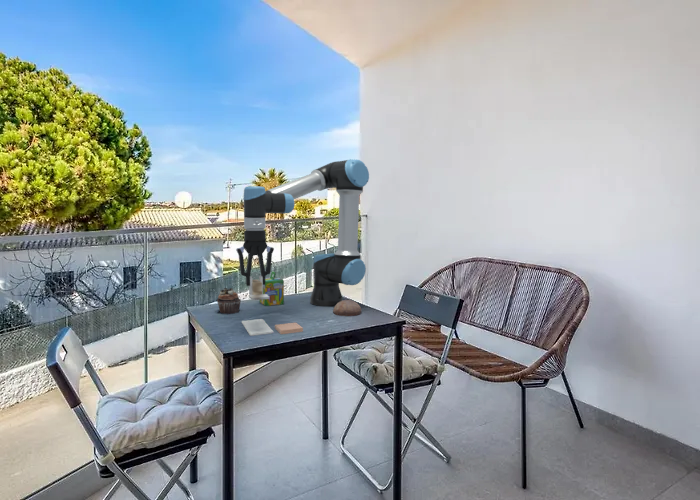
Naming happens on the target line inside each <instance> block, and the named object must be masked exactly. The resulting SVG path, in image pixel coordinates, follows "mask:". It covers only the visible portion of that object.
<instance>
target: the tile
mask: <svg viewBox="0 0 700 500" xmlns="http://www.w3.org/2000/svg"><path fill="white" fill-rule="evenodd" d="M274 329H275V331H276V332H278V333H279V334H280V335H288V334H296V333H301V332H304V327H302V326H301V325H300V324H298V323H297V322H289V323H281V324H274Z"/></svg>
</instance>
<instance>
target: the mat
mask: <svg viewBox="0 0 700 500" xmlns="http://www.w3.org/2000/svg"><path fill="white" fill-rule="evenodd" d="M241 324H242V325H243V327H244V328H245V330H246V331H247V333H248V335H249V336H251V337H253V336H261V335H271V334H274V330H273V329H272V328H271V327H270V325H269V324H267V323H266V321H265V319H263V318H260V319H258V318H257V319H249V320H241Z"/></svg>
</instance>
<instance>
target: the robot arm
mask: <svg viewBox="0 0 700 500" xmlns="http://www.w3.org/2000/svg"><path fill="white" fill-rule="evenodd" d="M369 179H370V173H369V169H368V166H367V165H366V164H365V163H364V161H362V160H360V159H351V158H349V159H346V160H338V161H332V162H330V163H327V164H325V165H323V166H320V167H318V168H316V169H313V170H311V172H310V173H309V174H305V175H304V176H301V177H299V178H297V179H294V180H291V181H289V182H284V184H280V185H278V186H276V187H275V186H274V187H273V188H270V189H268V190H266V188H265V186H258V185H255V186H254V185H253V186H252V185H251V186H250V185H249V186H248V185H247V186H245V187H244V188H243V228H244V229H245V230H244V232H243V233H244V241H243V242H244V243H243V244H242V246H241V247H238V248H236V249H235V250H236V253H237V254H238V262H239V270H240V271H239V273H240V275H241V276H242V277H243V276H244V277H245V285H246V286H247V287H248V293H249V295H252V280H253V276H251V273H252V266H253V258H254V256H257V258H258V264H259V270H260V271H259V272H260V275H258V280H259V281H260V282H262V294H263V285H265V278H266V276H267V275H271V273H272V271H271V269H272V260H273V259H272V258H273V257H272V256H273V252H274V250H275V248H274V247H272V246H268V243H267V241H266V239H267V238H266V235H267V233H266V230H265V229H266V227H267V225H266V214H284V215H285V214H290V213H292V212H293V211H294V209H295V200H296V199H299V198H301V197H303V196H307V195H308V194H311V193H313V192H315V191H319V192H320V191H324V190H326V189H327V190H328V189H335V191H336V193H337V194H338V197H339V199H338V201H339V203H338V204H339V205H338V233H337V234H338V235H337V237H338V239H337V250H336V251H335V252H334V253H333V252H331V253H323V254H316V255H315V256H314V257H313V282H314V283H313V288H312V292H311V294H310V299H309V301H310V304H311V305H313V306H319V307H320V306H321V307H331V306H336V304H337V303H339V302H341V301H343V299H344V297H343V295H342V291H341V288H340V284H341V285H342V284H343V285H345V286H355V285H358V284H360V282H362V281H363V279H364V277H365V275H366V269H367V268H366V264H365V262H364V261H363V260H362V259H361V253H360V252H359V251H358V250H359V249H358V244H359V243H358V242H359V241H358V239H359V215H360V214H359V213H360V212H359V211H360V205H359V204H360V195H362V193H363V191H364V187H365V186H366V185H367V184H368V183H369ZM244 251H245V252H246V253H247V254H248V255H247V261H246V268H245V261H244V260H245V259H244V253H245V252H244ZM265 251H266V252H267V254H266V266H265V262H264V257H263V255H264V252H265Z"/></svg>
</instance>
